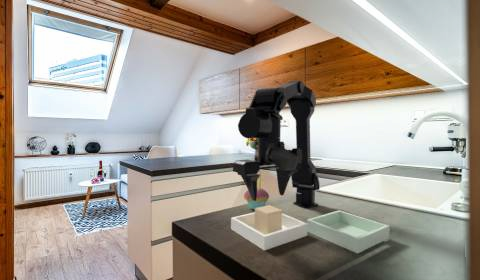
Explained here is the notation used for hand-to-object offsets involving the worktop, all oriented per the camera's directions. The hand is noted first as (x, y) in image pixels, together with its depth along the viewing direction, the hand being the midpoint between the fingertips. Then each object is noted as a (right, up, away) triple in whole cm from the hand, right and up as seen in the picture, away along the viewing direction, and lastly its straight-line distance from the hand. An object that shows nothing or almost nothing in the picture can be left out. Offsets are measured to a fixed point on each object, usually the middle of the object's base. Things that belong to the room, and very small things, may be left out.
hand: (268, 197), depth 63 cm
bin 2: (+20, -10, -1) cm, 22 cm away
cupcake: (-2, -9, +21) cm, 23 cm away
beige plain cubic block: (0, -9, 0) cm, 9 cm away
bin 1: (0, -10, 0) cm, 10 cm away
